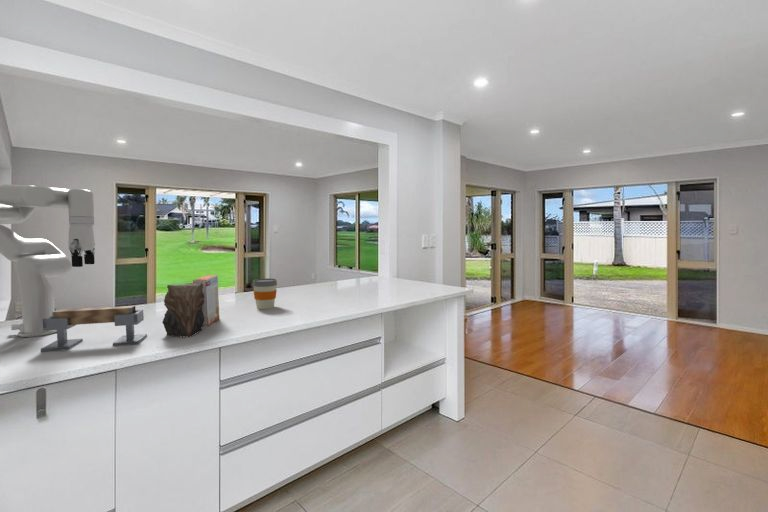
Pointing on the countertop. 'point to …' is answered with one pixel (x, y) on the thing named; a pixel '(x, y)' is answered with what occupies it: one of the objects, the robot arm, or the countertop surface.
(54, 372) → the countertop surface
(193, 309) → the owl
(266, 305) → the reusable coffee cup
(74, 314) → the rail
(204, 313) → the cracker box
